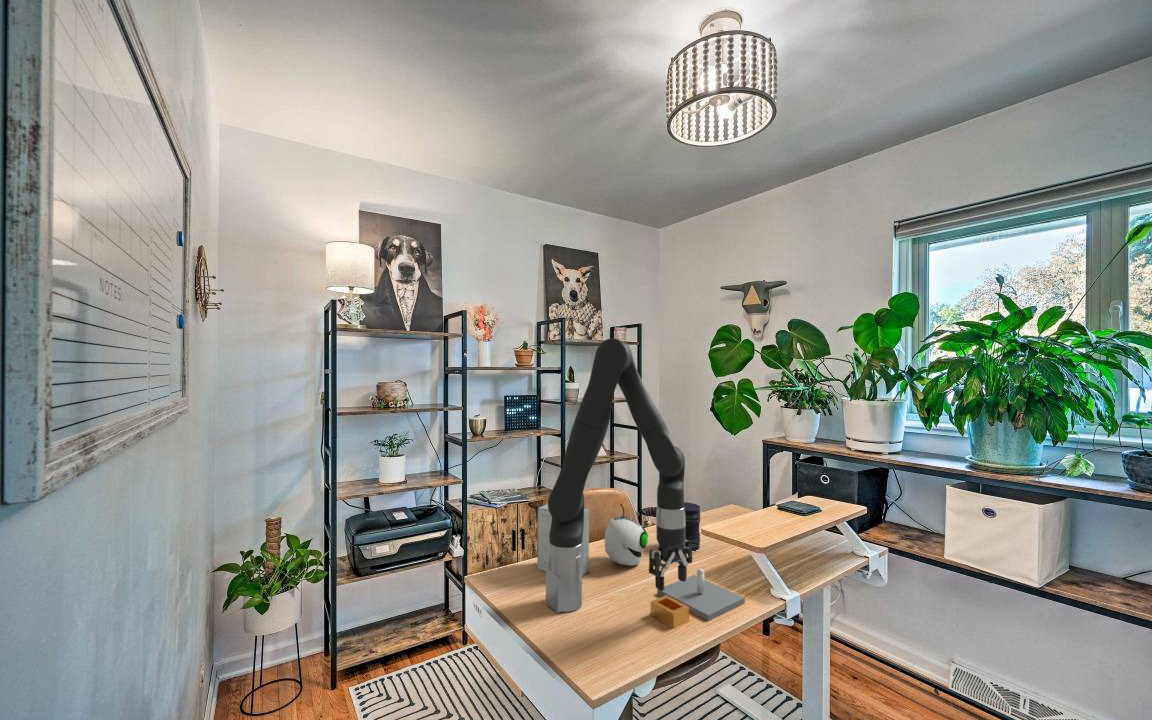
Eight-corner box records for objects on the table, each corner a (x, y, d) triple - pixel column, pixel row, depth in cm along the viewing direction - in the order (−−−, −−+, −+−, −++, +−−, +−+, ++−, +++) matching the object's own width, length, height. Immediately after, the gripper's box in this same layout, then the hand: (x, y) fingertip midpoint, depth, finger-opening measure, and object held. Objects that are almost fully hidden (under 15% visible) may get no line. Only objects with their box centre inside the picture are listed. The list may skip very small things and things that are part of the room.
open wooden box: (673, 628, 123) (673, 614, 123) (650, 614, 129) (650, 601, 129) (689, 620, 127) (689, 607, 127) (666, 608, 133) (666, 595, 133)
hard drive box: (589, 571, 156) (590, 509, 156) (577, 581, 149) (578, 515, 149) (549, 561, 164) (549, 501, 164) (536, 569, 157) (536, 507, 157)
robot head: (646, 576, 153) (647, 512, 153) (601, 572, 155) (601, 509, 155) (648, 556, 169) (648, 498, 169) (606, 552, 171) (607, 495, 171)
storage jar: (683, 540, 184) (684, 500, 184) (705, 548, 177) (706, 506, 177) (666, 546, 178) (667, 505, 178) (688, 554, 170) (689, 512, 170)
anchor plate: (708, 621, 127) (708, 588, 127) (657, 594, 141) (657, 564, 141) (744, 603, 136) (744, 572, 136) (693, 579, 151) (693, 552, 151)
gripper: (662, 533, 121) (663, 598, 121) (699, 521, 130) (700, 582, 129) (641, 525, 127) (642, 587, 127) (677, 514, 136) (678, 572, 135)
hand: (671, 584), depth 128 cm, fingers open, 8 cm apart
